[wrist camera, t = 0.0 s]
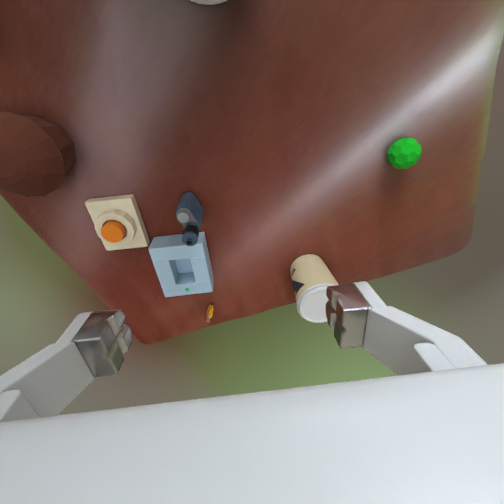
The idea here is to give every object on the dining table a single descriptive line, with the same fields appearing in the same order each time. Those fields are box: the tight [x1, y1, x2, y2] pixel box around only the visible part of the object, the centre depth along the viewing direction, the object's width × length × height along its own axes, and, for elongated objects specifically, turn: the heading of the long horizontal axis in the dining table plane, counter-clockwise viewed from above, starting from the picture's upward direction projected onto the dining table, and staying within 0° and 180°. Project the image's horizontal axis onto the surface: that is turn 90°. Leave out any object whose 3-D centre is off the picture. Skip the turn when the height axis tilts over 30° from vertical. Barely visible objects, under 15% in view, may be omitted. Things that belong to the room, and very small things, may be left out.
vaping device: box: [176, 192, 204, 246], centre depth 44 cm, size 3×5×12 cm, turn 24°
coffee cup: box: [290, 254, 338, 323], centre depth 54 cm, size 9×9×12 cm
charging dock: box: [148, 232, 214, 297], centre depth 53 cm, size 12×10×5 cm
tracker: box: [206, 305, 213, 322], centre depth 62 cm, size 4×1×4 cm, turn 161°
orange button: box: [101, 220, 126, 243], centre depth 46 cm, size 4×4×2 cm
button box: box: [85, 194, 150, 251], centre depth 48 cm, size 10×8×4 cm
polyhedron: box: [388, 138, 421, 168], centre depth 44 cm, size 5×5×5 cm
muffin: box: [0, 112, 76, 196], centre depth 38 cm, size 12×11×10 cm
